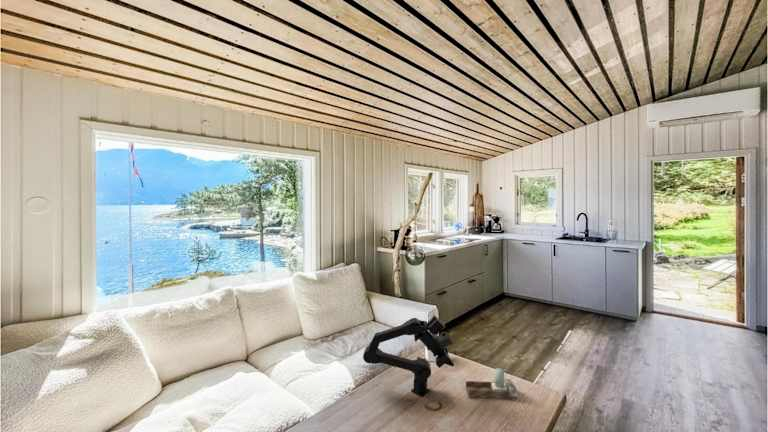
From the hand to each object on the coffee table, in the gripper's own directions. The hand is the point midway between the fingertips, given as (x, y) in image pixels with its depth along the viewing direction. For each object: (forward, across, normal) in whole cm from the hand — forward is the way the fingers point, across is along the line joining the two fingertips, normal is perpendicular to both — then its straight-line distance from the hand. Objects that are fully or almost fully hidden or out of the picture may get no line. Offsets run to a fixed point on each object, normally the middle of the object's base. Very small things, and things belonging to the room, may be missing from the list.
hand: (453, 365), depth 148 cm
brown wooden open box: (+21, 0, -3) cm, 21 cm away
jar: (+4, +33, +14) cm, 36 cm away
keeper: (+22, 0, -7) cm, 23 cm away
